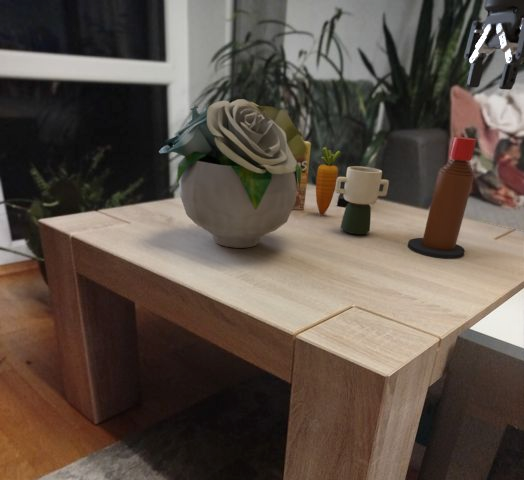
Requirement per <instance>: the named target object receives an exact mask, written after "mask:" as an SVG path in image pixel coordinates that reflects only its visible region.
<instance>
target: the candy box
mask: <svg viewBox="0 0 524 480" xmlns="http://www.w3.org/2000/svg"><path fill="white" fill-rule="evenodd" d="M304 142H305V145H306V148H307V150H306V152H305V153H304V154H303V155H302V156H300V157H294V158H295V160H296V161H297V164H298V165H299V166H300V167H301V168H302V175H301V184H300V189H299V184H298V187H297V195H296V202H295V204H294V207H293V209H292V210H297V211H304V210H305V204H306V203H305V202H306V194H307V187H308V186H307V185H308V177H309V176H308V175H309V167H310V157H311V148H312V143H311V142H310V141H307V140H304ZM297 182H298V178H297Z"/></svg>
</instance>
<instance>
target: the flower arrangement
mask: <svg viewBox="0 0 524 480" xmlns="http://www.w3.org/2000/svg"><path fill="white" fill-rule="evenodd" d="M198 109H199V106H198V105H197V104H196V103H195V104H193V107H192V108H190V111H191V119H190V120H189V121H187V122H186V124H185V125H184V126H183V127H182V128H181V129H178V130H177V131H176V132H175V133H173V134H174V137H170V138H169V139H166V140H165V141H164V143H165V144H166V145H164V146H163V147H162V148H160V150H159V151H158V153H159V154H161V155H162V154H168V153H169V154H170V153H175V154H177V155H180V156H182V157H183V158H182V159H181V160H180V161H179V162H178V163H177V169H176V170H177V171H176V185H178V184H179V187H178V188H179V196H180V200H181V203H182V205H183V208H184V211H185V214H186V216H187V217H188V218H189V219H190V220H191V221H192V222H193V223H194V224H195V225H197V227H200V228H201V229H203V230H205V231H207V232H208V233H209V234H211V237H212V240H213V241H214V242H215V243H216V244H218V245H219V246H223V247H227V248H235V249H246V248H252V247H254V246H257V245H258V244H259V242H260V240H261V238H262V237H263V236H266V235H267V234H270V233H273V232H276V231H277V230H278V229H280V228H281V227H282V226H284V225H285V224H286V223H287V222H288V220H289V219H290V215H291V214H292V211H293V210H294V209H293V207H294V204H295V202H296V195H297V187H298V184H299V189H300V184H301V175H302V168H301V167H300V166H299V165H298V164H297V161H296V160H295V158H294V157H300V156H302V155H303V154H304V153H305V152H306V150H307V148H306V145H305V142H304V141H305V140H304V139H303V133H302V131H300V130H299V129H298V128H297V127H296V126H295V124H294V123H293V121H292V119H291V117H290V115H289V114H288V112H287V110H285V109H280V110H279V109H278V108H276V107H273V106H267V105H266V106H265V105H264V106H262V105H258V104H257V103H254V102H253V101H249V100H246V99H245V98H241V99H235V100H233V99H227V100H219V101H216V102H214V103H211V104H210V105H209V106H206V108H204V109H202V110H201V111H200V112H199V111H198ZM297 178H298V182H297Z"/></svg>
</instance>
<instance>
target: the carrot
mask: <svg viewBox="0 0 524 480" xmlns="http://www.w3.org/2000/svg"><path fill="white" fill-rule="evenodd" d="M321 150H322V153H323V156H322V157H321V160H322V161H323V164H320V165H319V166H318V168H317V171H316V181H315V199H316V200H315V201H316V206H317V209H318V212H319V214H320V216H324V215H325V214H326V212H327V211H328V209H329V207H330V205H331V203H332V200H333V196H334V194H335V187H336V180H337V178H338V174H339V168H338V166H336V165H334V163H335V161H336V160H337V159H338V157H339V156H340V155H341V154H342V153H341V151H340V150H337V151H336V152H335V153H332V151H331V150H330V149H327V147H326V146H325V147H323V148H322V149H321Z"/></svg>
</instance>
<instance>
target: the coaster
mask: <svg viewBox="0 0 524 480" xmlns="http://www.w3.org/2000/svg"><path fill="white" fill-rule="evenodd" d="M422 241H423V237H415V238H414V237H413V238H410V239H408V241H407V248H408V249H409V250H411V251H413V252H414V253H416V254H420V255H423V256H426V257H431V258H436V259H459V258H462V257H463V256H465V252H466V250H465V248H464V247H463V246H461V245H459V244H457V243H456V246H455V249H454V250H447V251H446V250H436V249H432V248H429V247H426V246H424V245H423V244H422Z"/></svg>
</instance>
